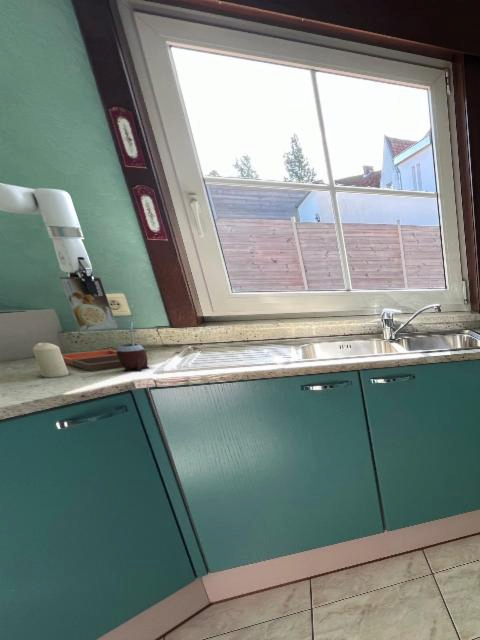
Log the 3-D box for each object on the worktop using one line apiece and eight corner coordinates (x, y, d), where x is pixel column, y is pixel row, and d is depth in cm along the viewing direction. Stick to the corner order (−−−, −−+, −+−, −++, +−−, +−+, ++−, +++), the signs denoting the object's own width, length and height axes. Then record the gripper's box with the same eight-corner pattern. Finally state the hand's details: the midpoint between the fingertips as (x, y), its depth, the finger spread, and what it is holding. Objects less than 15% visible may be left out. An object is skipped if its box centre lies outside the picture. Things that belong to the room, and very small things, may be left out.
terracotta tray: (72, 365, 164) (70, 359, 163) (59, 361, 169) (56, 355, 168) (126, 358, 176) (124, 353, 175) (112, 355, 181) (110, 349, 180)
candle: (71, 375, 152) (59, 342, 149) (46, 378, 148) (33, 345, 144) (65, 372, 155) (53, 340, 151) (40, 375, 151) (27, 343, 147)
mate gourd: (126, 372, 157) (111, 325, 152) (118, 369, 161) (102, 322, 156) (155, 369, 163) (141, 323, 158) (146, 365, 167) (132, 320, 162)
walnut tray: (91, 371, 158) (89, 364, 157) (74, 366, 163) (72, 359, 163) (146, 364, 169) (144, 358, 169) (128, 359, 175) (126, 353, 174)
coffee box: (115, 326, 167) (99, 276, 161) (118, 328, 163) (101, 277, 157) (77, 328, 161) (59, 276, 155) (79, 330, 157) (60, 277, 151)
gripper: (37, 232, 152) (59, 292, 158) (60, 233, 144) (81, 295, 151) (70, 234, 158) (90, 291, 164) (94, 234, 150) (113, 294, 157)
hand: (86, 293), depth 158 cm, fingers closed on coffee box, 7 cm apart
